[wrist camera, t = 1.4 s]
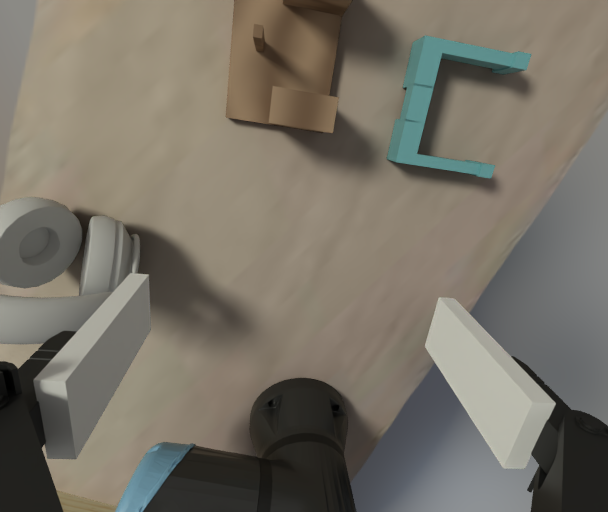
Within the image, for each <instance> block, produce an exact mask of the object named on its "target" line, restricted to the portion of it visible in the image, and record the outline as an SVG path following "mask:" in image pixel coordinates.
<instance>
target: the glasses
mask: <svg viewBox="0 0 608 512" xmlns="http://www.w3.org/2000/svg"><path fill="white" fill-rule="evenodd" d="M530 57H531V54H528V53H524V52H519V51H518V52H515V53H508V52H503V51H498V50H493V49H489V48H484V47H479V46H474V45H469V44H464V43H459V42H454V41H449V40H445V39H440V38H435V37H430V36H424V37H422V38H420V39H418V40H417V41H415V42H413V44H412V49H411V53H410V58H409V62H408V66H407V71H406V75H405V80H404V84H403V88H406V89H407V90H406V94H405V99H404V103H403V107H402V112H401V116H400V119H396V120H395V124H394V129H393V133H392V138H391V142H390V147H389V151H388V155H387V159H388V160H391V161H394V162H398V163H405V164H411V165H418V166H424V167H430V168H437V169H443V170H450V171H456V172H463V173H467V174H471V175H475V176H478V177H484V178H491V177H492V174H493V171H494V168H495V165H491V164H486V163H481V162H476V161H470V160H465V161H460V160H454V159H448V158H441V157H435V156H429V155H422V154H417V152H418V148H419V144H420V140H421V136H422V132H423V128H424V124H425V120H426V116H427V112H428V108H429V104H430V100H431V96H432V92H433V88H434V84H435V80H436V76H437V72H438V68H439V64H440V60H441V58H442V59H447V60H452V61H457V62H462V63H467V64H472V65H477V66H482V67H487V68H492V69H493V70H492V72H493V73H498V74H503V75H504V74H509V73H514V72H519V71H524V70H526V69H527V66H528V63H529V60H530Z"/></svg>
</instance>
